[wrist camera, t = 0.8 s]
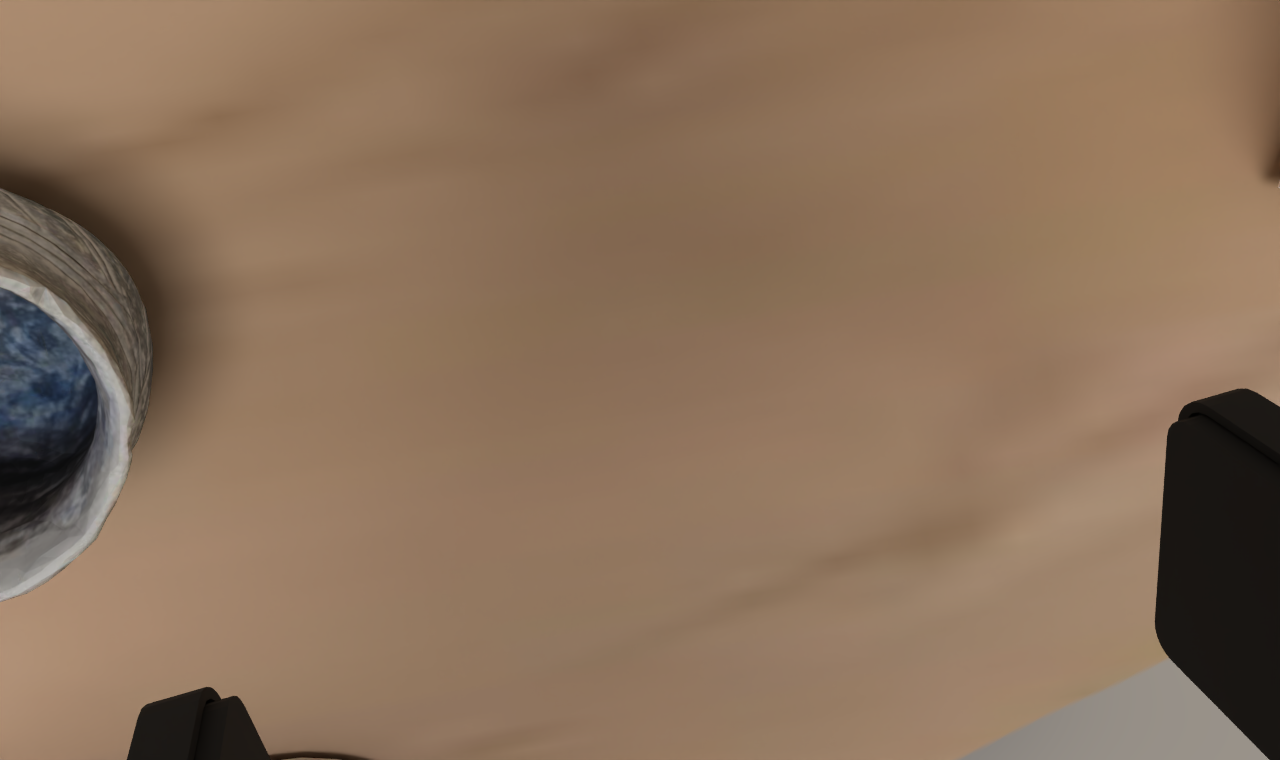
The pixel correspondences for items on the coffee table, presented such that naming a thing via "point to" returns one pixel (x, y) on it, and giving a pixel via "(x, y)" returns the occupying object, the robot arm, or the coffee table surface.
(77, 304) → the mug
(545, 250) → the coffee table surface
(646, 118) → the coffee table surface
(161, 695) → the coffee table surface
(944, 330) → the coffee table surface
